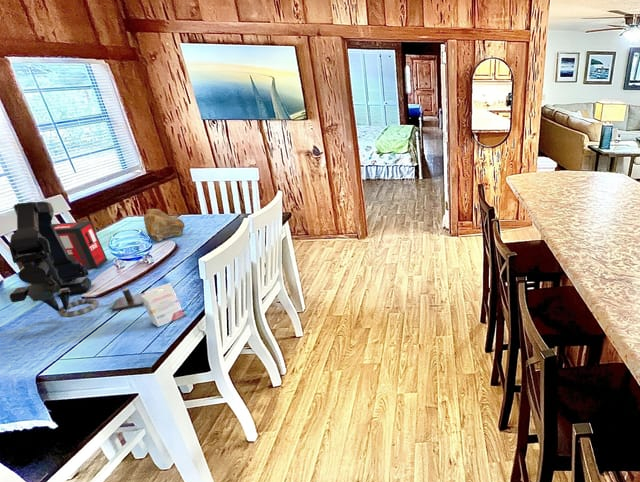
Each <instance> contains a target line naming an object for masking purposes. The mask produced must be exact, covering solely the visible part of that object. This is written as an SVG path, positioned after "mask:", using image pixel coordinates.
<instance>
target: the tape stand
mask: <svg viewBox="0 0 640 482" xmlns="http://www.w3.org/2000/svg"><path fill="white" fill-rule="evenodd" d="M121 292H122V294H123V296H120V297H118V298H117V299H116V302H115V303H114V305H113V307H112V308H111V310H112V312H116V311H120V310H126V309H132V308H137V307H142V306H143V305H144V302H143V300H142V297H141V296H143V295H145V294H144V292H143V293H137V294H132V292H131V290H130V288H128V287H125V288H123V289H122V290H121Z"/></svg>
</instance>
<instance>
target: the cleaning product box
mask: <svg viewBox="0 0 640 482" xmlns="http://www.w3.org/2000/svg"><path fill="white" fill-rule="evenodd" d="M52 224H53V226H54V228H55V230H56V232H57V234H58V236H59V238H60V240H61V242H62V244H63V246H64V248H65V250H66V251H67V253H68V255H70V256H72V257H74V258H76V259H77V261H78V262H79V263H81V264H82V265H83V266H84V267H85V268H86V269H87V271H90V270H98V269H99V268H100V267H102V266H103V265H104V264H105V263H106V262H107V261H108V258H107V256H106V253H105V251H104V248H103V246H102V244H101V242H100V240H99V237H98V235H97V233H96V231H95V228H94V226H93V224H92V221H91V220H88V221H87V220H86V221H75V222H61V223H52ZM49 258H50V260H51V262H53V259H52V257H51V255H50V253H49Z"/></svg>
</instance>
